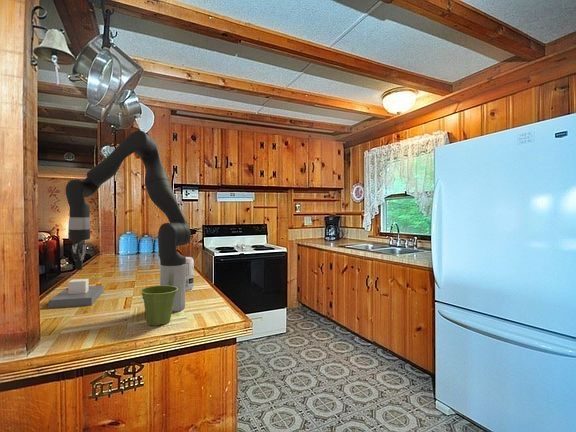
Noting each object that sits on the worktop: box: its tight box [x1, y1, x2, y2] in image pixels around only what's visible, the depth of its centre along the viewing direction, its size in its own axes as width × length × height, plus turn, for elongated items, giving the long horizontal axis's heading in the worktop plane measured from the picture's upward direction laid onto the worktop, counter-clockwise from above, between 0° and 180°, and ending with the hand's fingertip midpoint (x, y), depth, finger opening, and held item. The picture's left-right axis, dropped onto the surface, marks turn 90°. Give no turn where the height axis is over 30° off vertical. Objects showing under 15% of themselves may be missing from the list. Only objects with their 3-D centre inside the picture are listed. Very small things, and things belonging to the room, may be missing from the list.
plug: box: [67, 278, 90, 294], centre depth 126 cm, size 4×6×7 cm
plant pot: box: [139, 285, 178, 327], centre depth 102 cm, size 12×12×11 cm
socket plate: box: [48, 285, 104, 309], centre depth 126 cm, size 20×14×4 cm
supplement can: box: [185, 256, 195, 291], centre depth 147 cm, size 8×8×15 cm
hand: (79, 269), depth 126 cm, fingers closed
